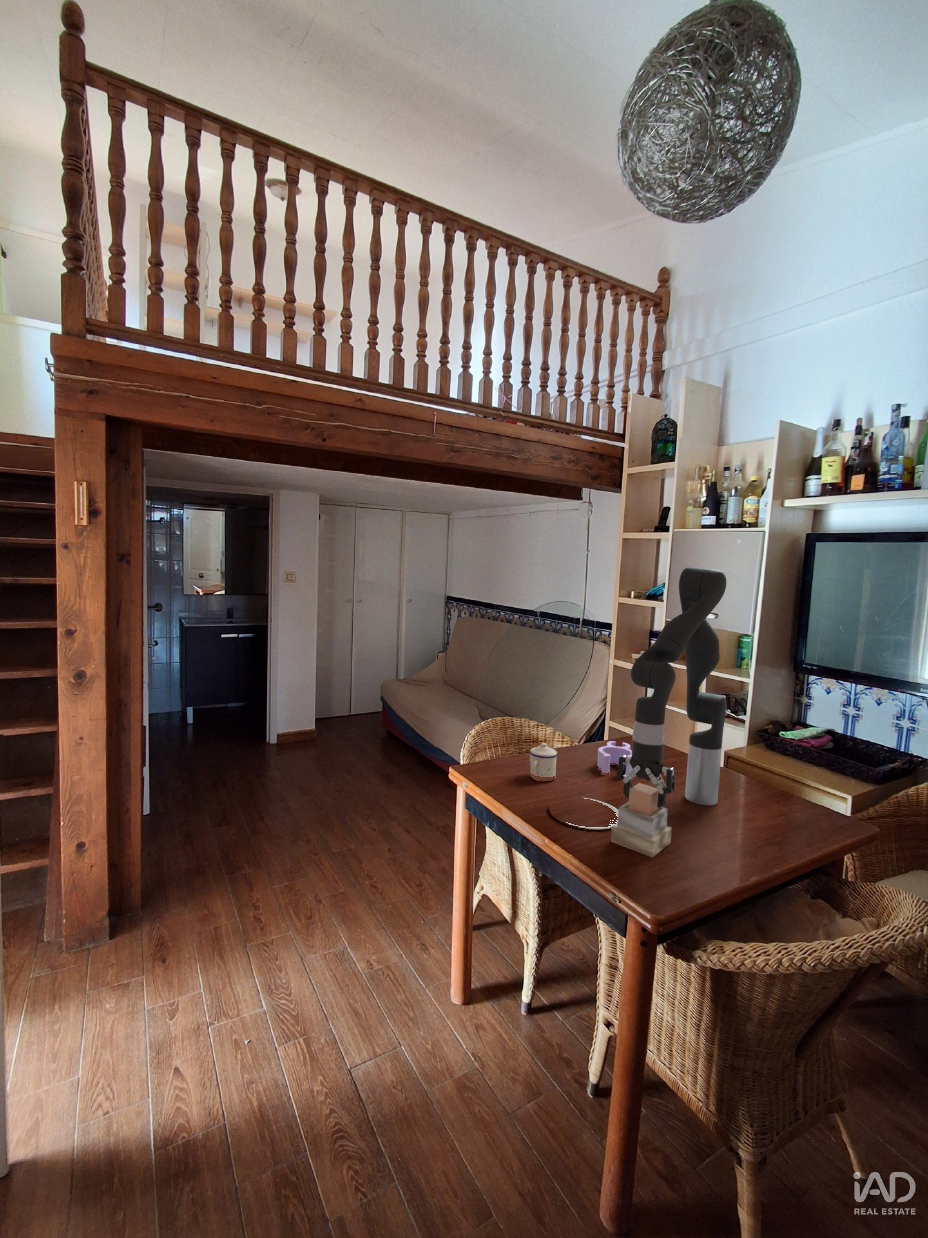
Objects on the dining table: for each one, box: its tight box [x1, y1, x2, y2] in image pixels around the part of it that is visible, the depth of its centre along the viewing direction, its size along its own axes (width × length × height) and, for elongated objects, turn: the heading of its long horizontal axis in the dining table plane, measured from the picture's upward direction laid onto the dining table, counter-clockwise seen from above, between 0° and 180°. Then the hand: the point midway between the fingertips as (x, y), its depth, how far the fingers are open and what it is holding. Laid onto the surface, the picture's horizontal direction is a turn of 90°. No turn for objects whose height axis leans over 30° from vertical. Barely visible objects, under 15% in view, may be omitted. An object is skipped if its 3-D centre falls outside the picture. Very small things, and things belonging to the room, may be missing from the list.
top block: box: [628, 782, 659, 817], centre depth 141 cm, size 6×6×6 cm
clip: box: [596, 740, 633, 775], centre depth 198 cm, size 20×12×7 cm, turn 160°
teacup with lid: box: [528, 742, 558, 777], centre depth 183 cm, size 12×9×12 cm
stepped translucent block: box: [610, 801, 673, 859], centre depth 142 cm, size 11×11×9 cm
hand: (643, 801), depth 141 cm, fingers open, 8 cm apart
